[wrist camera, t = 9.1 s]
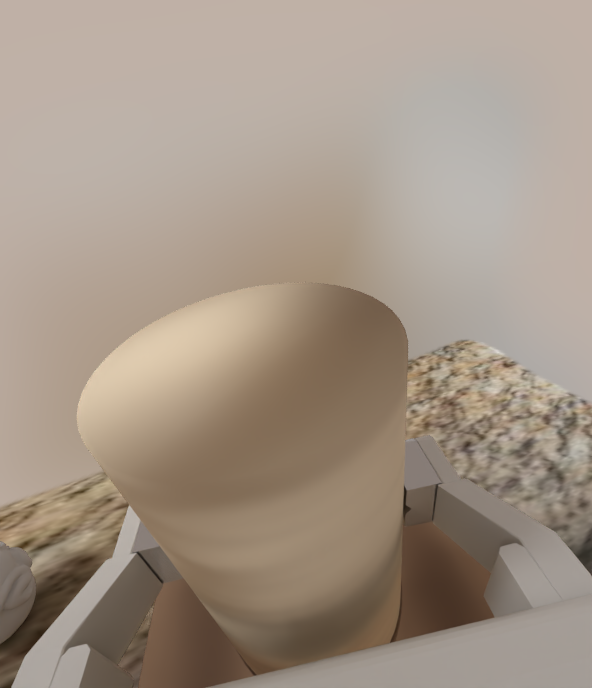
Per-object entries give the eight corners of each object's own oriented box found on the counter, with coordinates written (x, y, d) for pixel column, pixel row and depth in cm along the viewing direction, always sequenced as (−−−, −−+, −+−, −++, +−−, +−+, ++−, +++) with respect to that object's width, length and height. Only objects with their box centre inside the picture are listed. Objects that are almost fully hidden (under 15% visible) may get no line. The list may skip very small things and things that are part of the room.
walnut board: (126, 996, 12) (70, 1025, 10) (184, 576, 24) (165, 549, 22) (630, 857, 13) (678, 856, 11) (444, 516, 25) (449, 484, 23)
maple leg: (221, 630, 14) (34, 378, 7) (313, 515, 18) (257, 270, 10) (340, 795, 10) (200, 621, 3) (427, 604, 14) (468, 308, 6)
